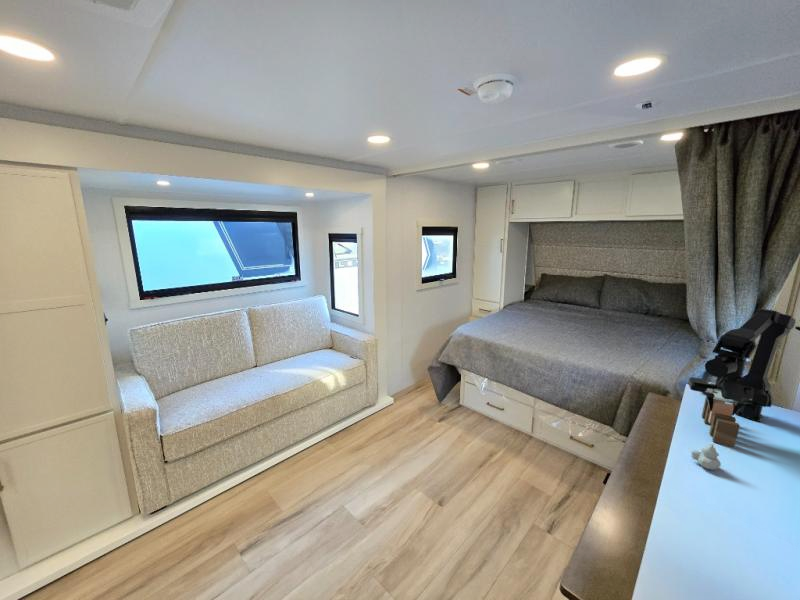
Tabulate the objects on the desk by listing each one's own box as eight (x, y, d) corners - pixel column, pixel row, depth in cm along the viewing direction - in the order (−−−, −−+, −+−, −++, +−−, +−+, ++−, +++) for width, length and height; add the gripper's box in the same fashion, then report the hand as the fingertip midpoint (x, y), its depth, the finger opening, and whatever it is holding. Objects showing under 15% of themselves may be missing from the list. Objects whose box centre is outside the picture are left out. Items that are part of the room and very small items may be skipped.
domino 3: (708, 421, 115) (712, 400, 113) (727, 425, 112) (732, 404, 110) (709, 423, 113) (713, 402, 112) (729, 427, 111) (734, 406, 109)
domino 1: (703, 421, 119) (708, 401, 117) (722, 426, 116) (727, 405, 114) (705, 423, 117) (709, 403, 115) (723, 428, 115) (728, 407, 113)
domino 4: (709, 433, 112) (713, 412, 110) (729, 438, 109) (734, 417, 108) (710, 435, 111) (715, 414, 109) (730, 440, 108) (735, 419, 106)
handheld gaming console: (699, 391, 137) (709, 381, 146) (699, 394, 138) (708, 384, 146) (732, 401, 129) (740, 389, 138) (732, 404, 130) (740, 393, 138)
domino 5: (712, 439, 109) (717, 418, 107) (732, 444, 106) (738, 423, 104) (713, 442, 107) (718, 420, 106) (734, 447, 105) (739, 425, 103)
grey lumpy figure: (719, 476, 93) (724, 452, 91) (688, 465, 98) (693, 441, 96) (719, 466, 97) (724, 442, 95) (689, 455, 101) (694, 433, 100)
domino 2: (701, 416, 122) (705, 397, 120) (719, 420, 119) (724, 400, 117) (702, 418, 121) (706, 398, 119) (720, 422, 118) (725, 402, 116)
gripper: (698, 373, 107) (689, 416, 110) (781, 387, 97) (769, 433, 100) (691, 361, 116) (684, 401, 119) (767, 373, 106) (756, 416, 109)
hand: (721, 412), depth 112 cm, fingers closed on domino 3, 5 cm apart
